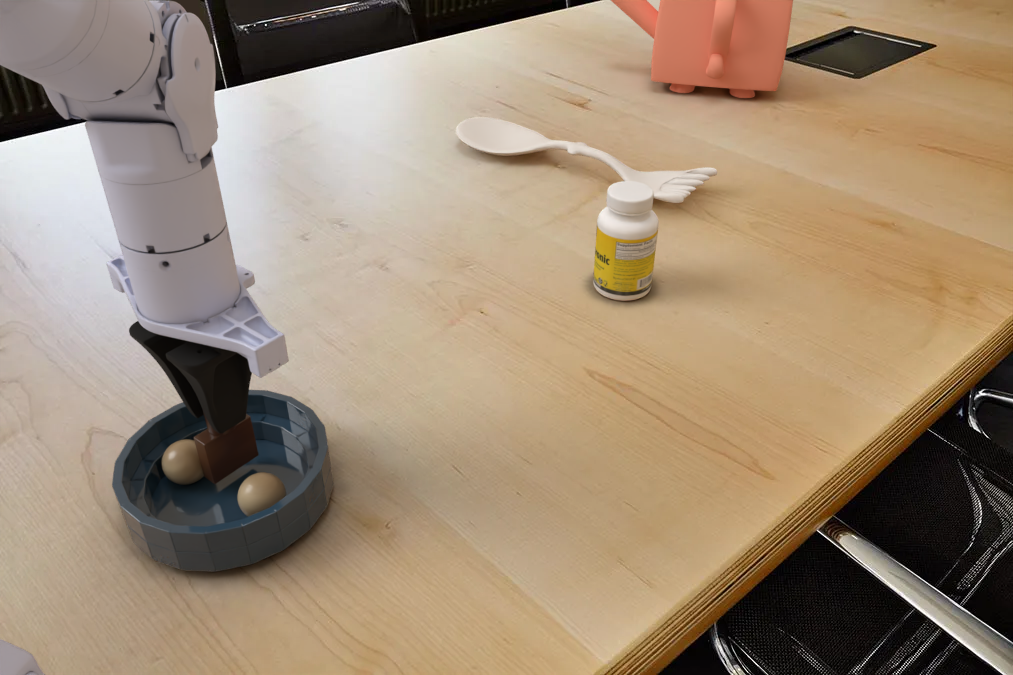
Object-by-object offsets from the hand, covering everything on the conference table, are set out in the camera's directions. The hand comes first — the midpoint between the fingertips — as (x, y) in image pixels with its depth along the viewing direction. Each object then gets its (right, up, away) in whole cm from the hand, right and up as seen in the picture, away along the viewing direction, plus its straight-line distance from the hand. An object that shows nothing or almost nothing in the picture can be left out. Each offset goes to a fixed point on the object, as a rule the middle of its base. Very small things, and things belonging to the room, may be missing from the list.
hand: (219, 416), depth 55 cm
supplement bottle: (+29, +10, +24) cm, 39 cm away
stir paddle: (0, -4, +3) cm, 4 cm away
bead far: (-3, -3, +2) cm, 5 cm away
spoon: (+26, +24, +45) cm, 57 cm away
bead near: (+3, -5, 0) cm, 6 cm away
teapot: (+45, +43, +71) cm, 95 cm away
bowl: (0, -6, +2) cm, 6 cm away
